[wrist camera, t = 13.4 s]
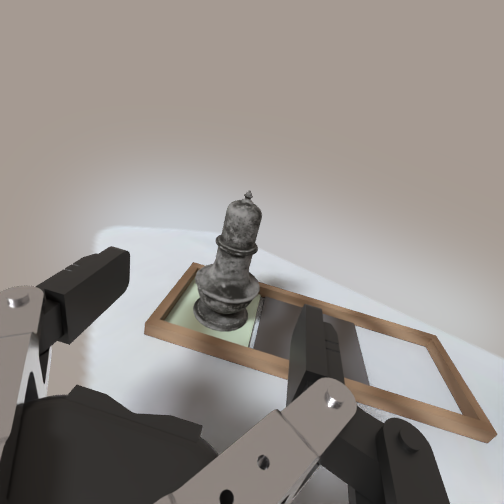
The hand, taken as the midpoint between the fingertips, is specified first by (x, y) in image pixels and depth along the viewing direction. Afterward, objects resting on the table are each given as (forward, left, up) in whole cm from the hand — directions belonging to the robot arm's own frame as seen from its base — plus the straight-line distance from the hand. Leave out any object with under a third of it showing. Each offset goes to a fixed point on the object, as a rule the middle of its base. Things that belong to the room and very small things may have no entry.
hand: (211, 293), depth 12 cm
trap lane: (-8, -11, -10) cm, 17 cm away
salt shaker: (+1, -11, -10) cm, 15 cm away
